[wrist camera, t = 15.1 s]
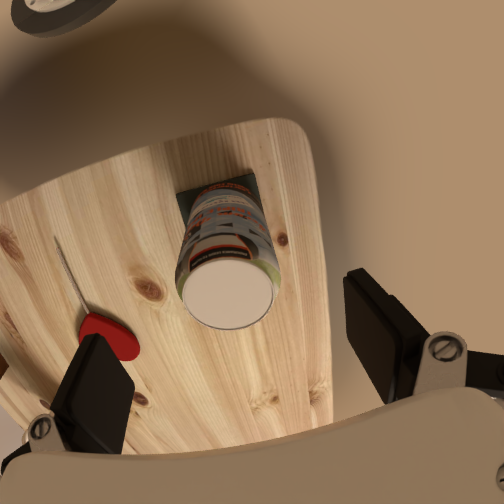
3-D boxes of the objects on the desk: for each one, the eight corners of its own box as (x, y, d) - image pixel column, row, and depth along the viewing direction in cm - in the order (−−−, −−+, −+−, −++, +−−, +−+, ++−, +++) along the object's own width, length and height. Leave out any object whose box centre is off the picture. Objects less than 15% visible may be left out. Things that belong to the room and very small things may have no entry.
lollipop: (34, 256, 25) (93, 362, 31) (30, 259, 24) (91, 367, 30) (88, 235, 25) (147, 354, 31) (85, 238, 24) (145, 359, 30)
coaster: (176, 193, 25) (175, 194, 24) (253, 172, 25) (254, 173, 24) (198, 264, 27) (198, 266, 27) (270, 246, 27) (271, 247, 27)
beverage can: (258, 176, 24) (290, 209, 13) (263, 256, 27) (291, 336, 16) (185, 183, 24) (154, 222, 13) (196, 262, 27) (182, 347, 16)
